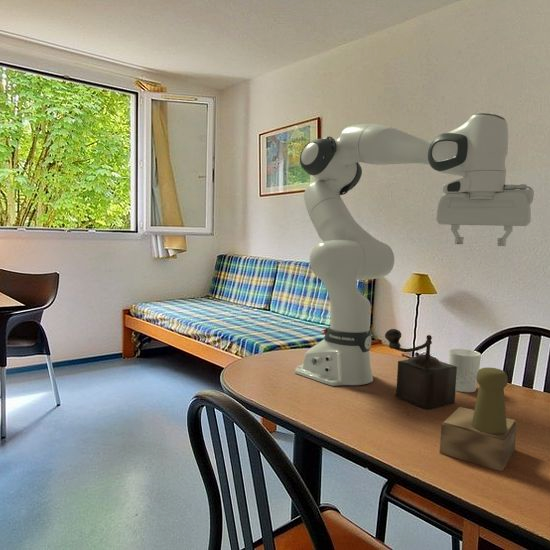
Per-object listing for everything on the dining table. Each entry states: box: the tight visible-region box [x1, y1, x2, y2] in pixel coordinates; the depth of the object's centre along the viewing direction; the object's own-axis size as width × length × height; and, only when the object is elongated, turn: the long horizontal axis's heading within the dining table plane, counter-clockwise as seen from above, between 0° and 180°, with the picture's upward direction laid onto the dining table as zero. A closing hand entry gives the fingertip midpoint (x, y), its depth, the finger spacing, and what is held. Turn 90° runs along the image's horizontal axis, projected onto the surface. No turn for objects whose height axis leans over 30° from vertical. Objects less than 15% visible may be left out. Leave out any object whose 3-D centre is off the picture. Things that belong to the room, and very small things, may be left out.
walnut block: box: [439, 406, 518, 472], centre depth 91 cm, size 11×11×6 cm
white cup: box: [448, 348, 482, 393], centre depth 128 cm, size 8×8×10 cm
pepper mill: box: [384, 328, 457, 410], centre depth 117 cm, size 16×11×18 cm
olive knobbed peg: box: [472, 367, 508, 434], centre depth 87 cm, size 6×6×11 cm
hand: (479, 245), depth 111 cm, fingers open, 8 cm apart
